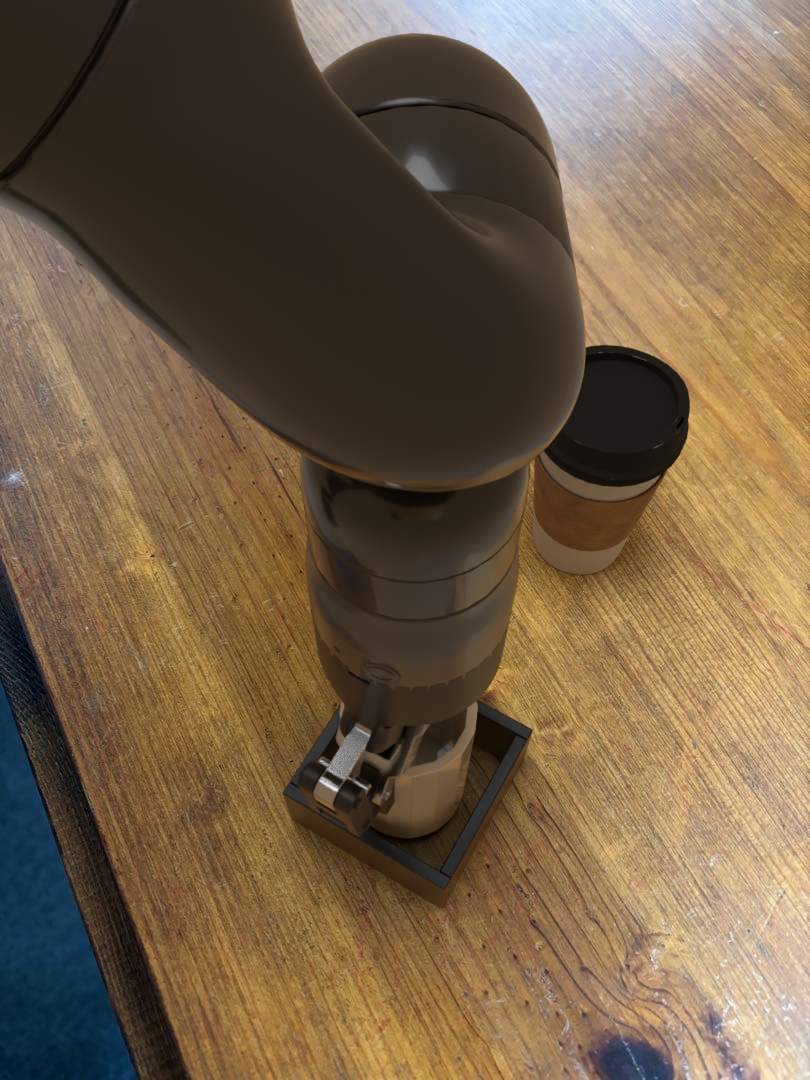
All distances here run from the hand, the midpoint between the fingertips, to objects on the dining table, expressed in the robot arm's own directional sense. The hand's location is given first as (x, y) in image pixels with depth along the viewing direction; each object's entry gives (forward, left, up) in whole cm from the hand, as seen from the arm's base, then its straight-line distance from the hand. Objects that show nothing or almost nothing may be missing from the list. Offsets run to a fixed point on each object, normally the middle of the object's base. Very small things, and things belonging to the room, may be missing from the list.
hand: (407, 740), depth 54 cm
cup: (0, 0, -7) cm, 7 cm away
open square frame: (0, 0, -8) cm, 8 cm away
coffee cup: (+20, -1, -9) cm, 22 cm away
